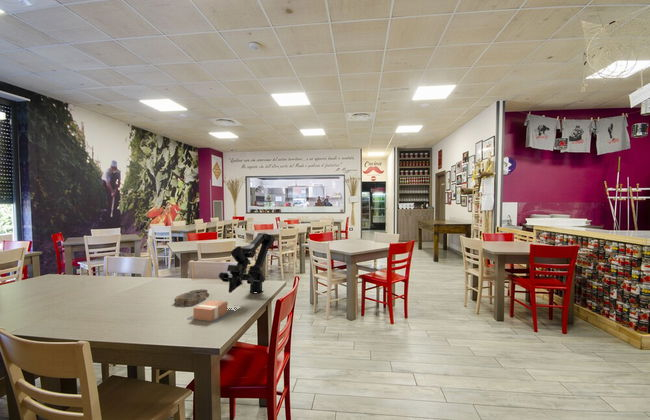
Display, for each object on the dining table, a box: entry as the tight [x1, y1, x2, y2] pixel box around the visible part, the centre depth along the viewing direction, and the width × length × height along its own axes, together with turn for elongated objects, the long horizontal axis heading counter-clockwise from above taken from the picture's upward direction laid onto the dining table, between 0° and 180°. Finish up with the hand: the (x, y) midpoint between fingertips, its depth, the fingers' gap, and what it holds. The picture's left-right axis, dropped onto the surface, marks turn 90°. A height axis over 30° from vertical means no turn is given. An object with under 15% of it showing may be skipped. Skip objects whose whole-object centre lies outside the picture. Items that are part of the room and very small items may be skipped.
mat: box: [186, 305, 242, 324], centre depth 139 cm, size 22×16×1 cm
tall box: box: [192, 299, 228, 321], centre depth 135 cm, size 5×10×12 cm
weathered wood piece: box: [173, 288, 210, 307], centre depth 160 cm, size 14×5×20 cm
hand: (229, 292), depth 149 cm, fingers closed
